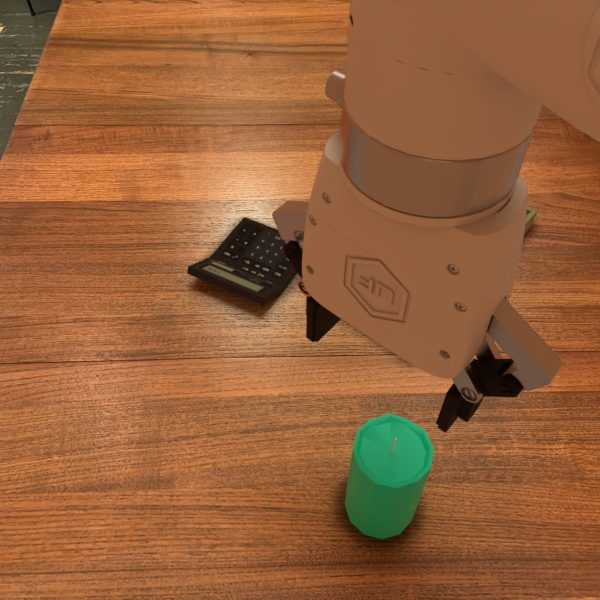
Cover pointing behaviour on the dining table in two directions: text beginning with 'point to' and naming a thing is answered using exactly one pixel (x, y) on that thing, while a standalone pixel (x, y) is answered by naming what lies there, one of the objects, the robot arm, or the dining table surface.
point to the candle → (387, 475)
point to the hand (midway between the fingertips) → (386, 368)
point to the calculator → (248, 263)
